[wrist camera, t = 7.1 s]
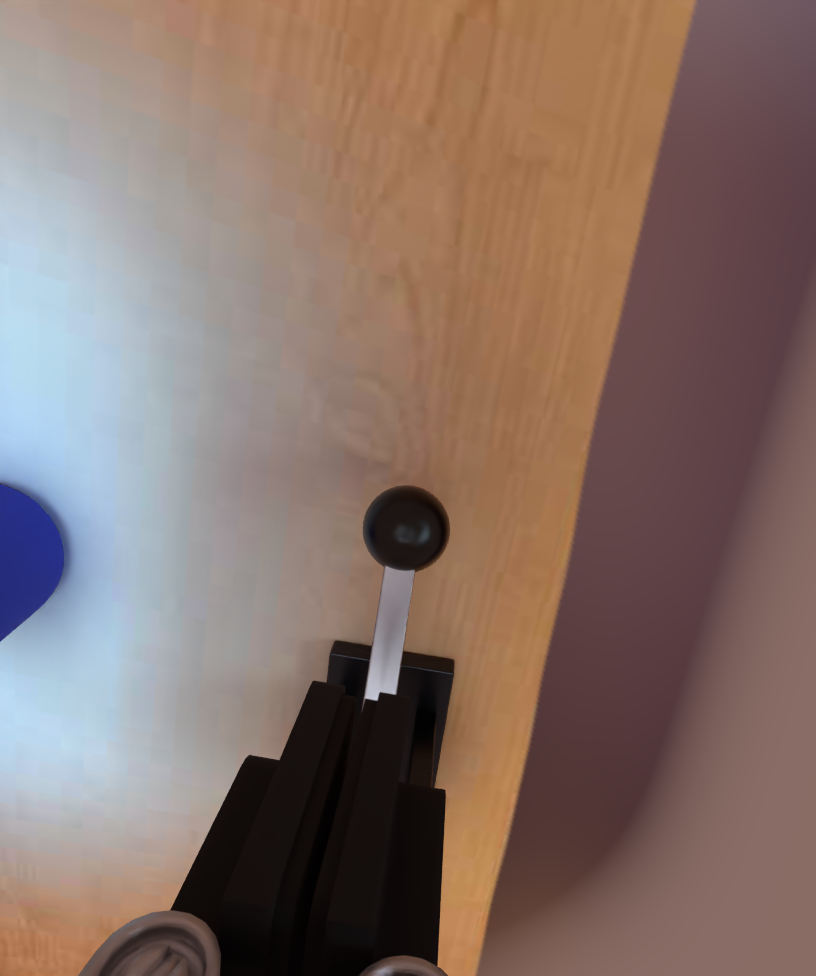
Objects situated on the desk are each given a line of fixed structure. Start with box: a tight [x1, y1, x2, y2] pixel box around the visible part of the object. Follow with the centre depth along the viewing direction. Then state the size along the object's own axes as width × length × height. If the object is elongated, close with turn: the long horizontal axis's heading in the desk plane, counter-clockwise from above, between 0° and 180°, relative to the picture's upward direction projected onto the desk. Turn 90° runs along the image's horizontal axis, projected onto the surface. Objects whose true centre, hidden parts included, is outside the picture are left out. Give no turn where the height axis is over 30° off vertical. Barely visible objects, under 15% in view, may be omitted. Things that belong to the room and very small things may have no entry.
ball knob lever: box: [362, 486, 450, 710], centre depth 22 cm, size 17×3×3 cm, turn 173°
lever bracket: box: [327, 641, 454, 788], centre depth 26 cm, size 9×6×13 cm, turn 173°
